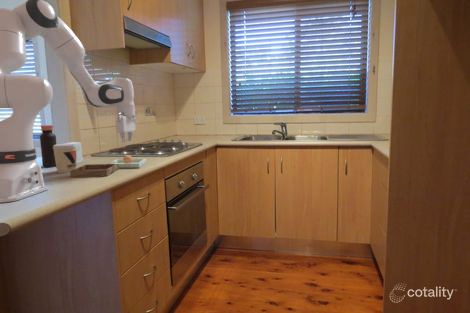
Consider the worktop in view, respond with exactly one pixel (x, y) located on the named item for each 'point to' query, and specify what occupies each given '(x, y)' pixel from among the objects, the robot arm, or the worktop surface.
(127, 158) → the ball
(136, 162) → the tray
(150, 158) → the worktop surface
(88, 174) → the brown wooden tray
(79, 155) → the small box
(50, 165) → the bottle
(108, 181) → the worktop surface
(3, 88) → the robot arm
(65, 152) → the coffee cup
